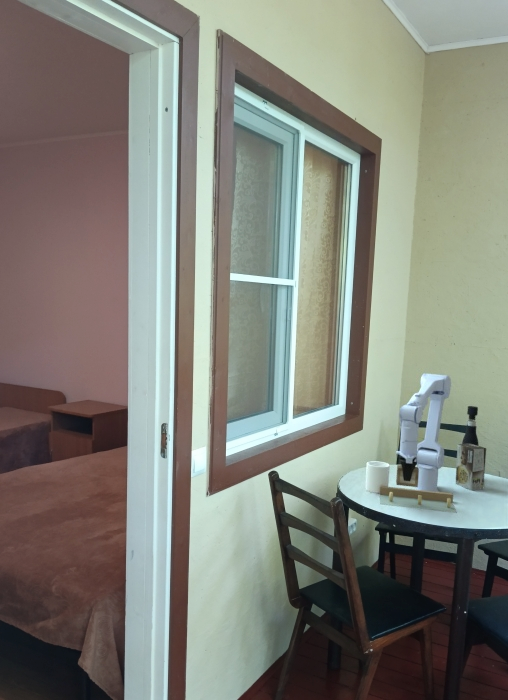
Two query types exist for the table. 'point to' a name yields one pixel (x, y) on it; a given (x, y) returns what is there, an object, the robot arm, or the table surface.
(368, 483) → the mug
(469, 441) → the wine bottle
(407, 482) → the frame
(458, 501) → the table surface
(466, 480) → the coffee box
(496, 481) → the table surface
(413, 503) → the board
